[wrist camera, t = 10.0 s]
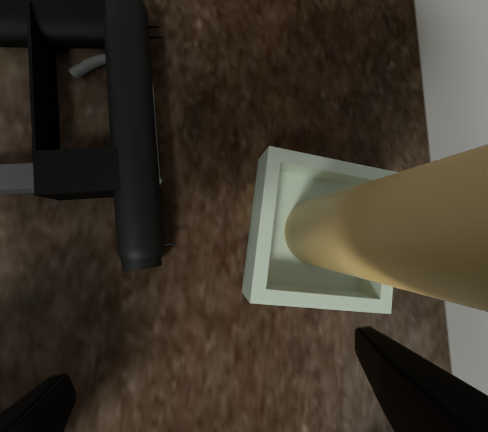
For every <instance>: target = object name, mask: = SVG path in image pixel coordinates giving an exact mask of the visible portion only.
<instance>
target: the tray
mask: <svg viewBox="0 0 488 432" xmlns="http://www.w3.org/2000/svg"><path fill="white" fill-rule="evenodd" d="M395 173H398V172H394V171H389V170H384V169H379V168H374V167H370V166H365V165H360V164H355V163H350V162H345V161H340V160H335V159H331V158H326V157H321V156H316V155H311V154H306V153H301V152H297V151H292V150H287V149H282V148H277V147H272V146H268V148H267V149H266V150H265V151H264V153H263V154H262V155H261V156H260V158H259V159H258V167H257V175H256V183H255V191H254V199H253V207H252V215H251V223H250V231H249V239H248V247H247V255H246V263H245V271H244V279H243V287H242V293H243V294H244V296H245V297H246V298H247V300H248V301H249V303H254V304H267V305H280V306H293V307H306V308H319V309H332V310H345V311H358V312H371V313H384V314H391V307H392V292H393V287H392V286H388V285H384V284H381V283H377V282H373V281H369V280H365V279H362V278H358V277H354V276H350V275H347V274H343V273H339V272H335V271H331V270H328V269H324V268H320V267H316V266H312V265H309V264H306V263H303V262H301V261H300V260H298V259H297V258H296V257H295V256H294V255H293V254H292V253H291V251H290V250H289V248H288V246H287V243H286V240H285V224H286V221H287V218H288V216H289V214H290V213H291V211H292V210H293V209H294V208H295V207H296V206H298V205H299V204H301V203H303V202H306V201H309V200H312V199H316V198H319V197H322V196H325V195H328V194H331V193H335V192H338V191H341V190H344V189H347V188H351V187H354V186H357V185H360V184H363V183H366V182H370V181H373V180H376V179H379V178H382V177H386V176H389V175H392V174H395Z"/></svg>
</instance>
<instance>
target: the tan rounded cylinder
mask: <svg viewBox="0 0 488 432" xmlns="http://www.w3.org/2000/svg"><path fill="white" fill-rule="evenodd" d="M285 240H286V243H287V246H288V248H289V250H290V251H291V253H292V254H293V255H294V256H295V257H296V258H297V259H298V260H300V261H301V262H303V263H306V264H309V265H312V266H316V267H320V268H324V269H328V270H331V271H335V272H339V273H343V274H347V275H350V276H354V277H358V278H362V279H365V280H369V281H373V282H377V283H381V284H384V285H388V286H392V287H396V288H399V289H403V290H407V291H411V292H415V293H418V294H422V295H426V296H430V297H434V298H437V299H441V300H445V301H449V302H452V303H456V304H460V305H464V306H468V307H472V308H476V309H479V310H483V311H487V312H488V144H487V145H484V146H481V147H478V148H475V149H471V150H469V151H465V152H462V153H459V154H456V155H452V156H449V157H446V158H443V159H440V160H436V161H433V162H430V163H427V164H424V165H421V166H417V167H414V168H411V169H408V170H405V171H401V172H398V173H395V174H392V175H389V176H386V177H382V178H379V179H376V180H373V181H370V182H366V183H363V184H360V185H357V186H354V187H351V188H347V189H344V190H341V191H338V192H335V193H331V194H328V195H325V196H322V197H319V198H316V199H312V200H309V201H306V202H303V203H301V204H299V205H298V206H296V207H295V208H294V209H293V210H292V211H291V213H290V214H289V216H288V218H287V221H286V224H285Z"/></svg>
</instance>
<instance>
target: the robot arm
mask: <svg viewBox="0 0 488 432" xmlns="http://www.w3.org/2000/svg"><path fill="white" fill-rule="evenodd" d="M355 351H356V354H357V357H358V359H359V361H360V363H361V366H362V368H363V370H364V372H365V374H366V376H367V378H368V380H369V383H370V385H371V387H372V389H373V391H374V393H375V395H376V397H377V400H378V402H379V404H380V406H381V408H382V410H383V412H384V414H385V416H386V417H387V419H388V421H389V423H390V424H391V426H392V428H393V430H394V431H395V432H488V396H487V395H486V394H484V393H482V392H481V391H479V390H477V389H476V388H474V387H472V386H471V385H469V384H467V383H465V382H464V381H462V380H460V379H459V378H457V377H455V376H454V375H452V374H450V373H449V372H447V371H445V370H443V369H442V368H440V367H438V366H437V365H435V364H433V363H432V362H430V361H428V360H427V359H425V358H423V357H421V356H420V355H418V354H416V353H415V352H413V351H411V350H410V349H408V348H406V347H405V346H403V345H401V344H399V343H398V342H396V341H394V340H393V339H391V338H389V337H388V336H386V335H384V334H383V333H381V332H379V331H377V330H376V329H374V328H372V327H371V326H361V327H357V328H356V329H355ZM76 396H77V395H76V391H75V388H74V386H73V384H72V381H71V379H70V377H69V375H68V374H65V373H64V374H58V375H53V376H51V377H49V378H48V379H46V380H45V381H44V382H42V383H41V384H39V385H38V386H37V387H35V388H34V389H33V390H31V391H30V392H29V393H27V394H26V395H25V396H23V397H22V398H21V399H19V400H18V401H17V402H15V403H14V404H13V405H11V406H10V407H9V408H7V409H6V410H5V411H3V412H2V413H0V432H64V429H65V427H66V424H67V422H68V419H69V417H70V414H71V412H72V409H73V407H74V405H75V402H76Z"/></svg>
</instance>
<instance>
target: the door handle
mask: <svg viewBox="0 0 488 432" xmlns="http://www.w3.org/2000/svg"><path fill="white" fill-rule="evenodd" d="M151 28H162V27H156V26H148V15H147V11H146V8H145V6H144V4H143V2H142V0H0V47H28V54H29V78H30V101H31V125H32V149H33V151H32V155H33V163H20V164H0V195H11V194H30V193H34V195H36V196H41V197H46V198H51V199H56V200H73V199H91V198H108V197H114V206H115V223H116V239H117V252H118V255H119V257H120V259H121V263H122V271H133V270H142V269H148V268H154V267H158V266H161V265H162V261H161V256H162V254H163V251H164V248H165V247H166V246H164V245H172V246H173V245H175V244H177V243H167V244H164V236H163V222H162V208H161V194H160V187H161V186H160V184H161V183H162V179H161V178H160V172H159V158H158V144H157V130H156V116H155V102H154V88H153V81H152V69H151V55H150V41H149V39H156V38H164V37H156V36H149V29H151ZM55 48H105V53H104V54H99V55H95V56H92V57H90V58H87V59H85V60H83V61H81V62H80V63H78V64H76V65H75V66H73V67H72V68H71V69H69V70H68V71H69V73H70V74H71V75H72V76H73V77H74V78H75V79H78V78H80V77H81V76H82V75H84V74H85V73H87V72H88V71H90V70H92V69H94V68H96V67H98V66H101V65H103V64H106V75H107V91H108V108H109V124H110V141H111V147H110V148H85V149H61V150H60V132H59V111H58V91H57V71H56V50H55Z"/></svg>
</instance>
